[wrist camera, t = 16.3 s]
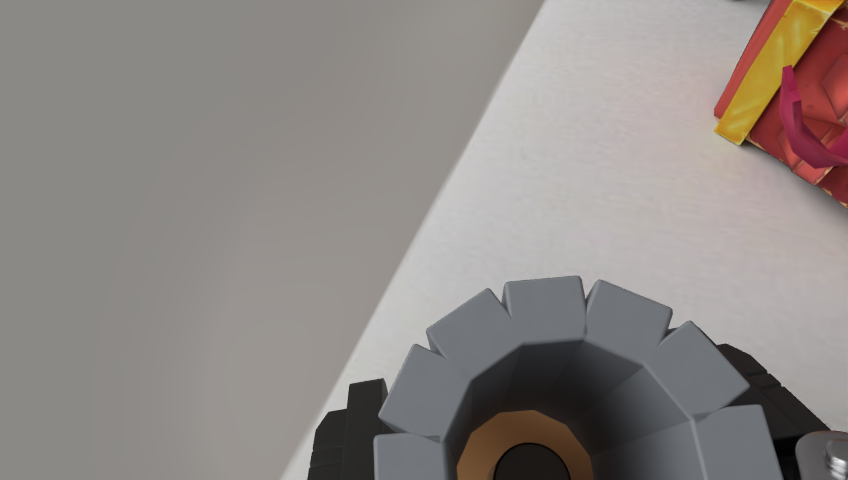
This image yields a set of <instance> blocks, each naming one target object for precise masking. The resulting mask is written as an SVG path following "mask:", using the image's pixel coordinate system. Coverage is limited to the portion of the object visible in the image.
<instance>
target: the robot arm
mask: <svg viewBox="0 0 848 480" xmlns="http://www.w3.org/2000/svg"><path fill="white" fill-rule="evenodd" d="M698 328H699V327H698ZM676 329H677V328H672V329H667V332H666V335H665V337H666V336H668V335H669V334H670V333H672V332H673V331H674V330H676ZM699 329H700V328H699ZM700 331H701V332H702V333H703V334H704V335H705V336H706V337H707V338H708V339H709V340H710V341H711V343H712V344H713V345H714V346H715V347H716V348H717V349H718V350H719V351H720V352H721V354H722V355H723V356H724V357H725V358H726V359H727V360H728V361H729V362H730V363H731V364H732V366H733V367H734V368H735V369H736V370H737V371H738V372H739V373H740V374H741V375H742V376H743V378H744V379H745V380H746V381H747V382H748V383H749V384H750V388H749V389H748V390H747V391H746V392H744V393H743V394H742V395H741V396H739V397H738V398H737V399H736V400H734V401H733V402H732V403H730V404H729V405H728V406H727V407H729V406H741V405H754V404H758V405H761V406H762V408H763V411H764V414H765V418H766V421H767V424H768V428H769V431H770V435H771V438H772V441H773V445H774V448H775V452H776V455H777V458H778V462H779V465H780V468H781V472H782V475H783V479H784V480H848V433H847V432H840V431H831V430H830V429H829V428H828V427H827V426H826V425H825V424H824V423H823V422H822V421H821V420H820V419H819V418H817V417H816V416H815V415H814V414H813V413H812V412H811V411H810V410H809V409H808V408H807V407H806V406H805V405H803V404H802V403H801V402H800V401H799V400H798V399H797V398H796V397H795V396H794V395H793V394H792V393H791V392H789V391H788V390H787V389H786V388H785V387H782V386H781V383H780V382H779V381H778V380H777V379H776V378H774V377H773V376H772V375H771V374H768V373H767V370H766V369H765V368H764V367H763V366H762V365H760V364H759V363H758V362H757V361H756V360H755V359H754V358H753V357H752V356H751V355H749V354H747V353H745V352H743V351H741V350H739V349H737V348H735V347H732V346H730V345H728V344H720V345H716V344H715V343H714V342H713V341H712V340H711V339H710V338H709V337H708V336H707V335H706V334H705V333H704V332H703V331H702V330H701V329H700ZM387 396H388V391H387V387H386V383H385V380H384V378H381V379H376V380H370V381H364V382H358V383H353V384H350V386H349V393H348V403H347V409H342V410H337V411H331V412H328V413H327V415H326V416H325V418H324V419H323V420H322V422H321V423H320V425H319V426H318V428H317V429H316V432H315V438H314V444H313V452H312V456H311V461H310V468H309V473H308V479H307V480H375V475H374V444H373V441H374V438H375V436H377V435H381V434H394V433H395V432H394V431H393V430H392V429H391V428H390V427H389V426H387V425H386V424H385V423H384V422H383V421H382V420H381V419H380V418H379V417H378V414H379V412H380V410H381V408H382V406H383V404H384V402H385V400H386V398H387Z"/></svg>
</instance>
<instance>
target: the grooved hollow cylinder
mask: <svg viewBox="0 0 848 480" xmlns="http://www.w3.org/2000/svg"><path fill="white" fill-rule="evenodd" d="M672 315H673V312H672V309H671V308H670V307H668V306H665V305H663V304H660V303H658V302H655V301H653V300H650V299H648V298H645V297H643V296H640V295H638V294H635V293H633V292H631V291H628V290H626V289H623V288H621V287H618V286H616V285H613V284H611V283H608V282H606V281H603V280H597V281H596V282H595V284H594V285H593V287H592V289H591V291H590V292H589V294H588V296H587V298H586V299H585V295H584V289H583V284H582V279H581V278H580V276H567V277H555V278H544V279H533V280H522V281H510V282H506V283H505V285H504V290H503V296H502V302H500V301H499V300H498V298H497V297H496V296H495V295H494V293H493V292H492V291H491V289H489V288H486V289H485V290H483V291H482V292H480V293H479V294H477V295H476V296H474V297H473V298H471V299H470V300H469V301H467V302H466V303H464V304H463V305H461V306H460V307H458V308H457V309H455V310H454V311H452V312H451V313H449V314H448V315H446V316H445V317H443V318H442V319H441V320H439V321H438V322H436V323H435V324H433V325H432V326H430V327H429V328H427V330H426V333H427V337H428V341H429V345H430V348H431V350H429V349H426V348H424V347H422V346H420V345H418V344H414V345H412V347H411V349H410V351H409V353H408V355H407V357H406V359H405V361H404V363H403V365H402V367H401V369H400V371H399V373H398V375H397V378H396V380H395V382H394V384H393V386H392V388H391V390H390V392H389V394H388V396H387V398H386V400H385V402H384V404H383V406H382V408H381V410H380V412H379V414H378V417H379V418H380V419H381V420H382V421H383V422H384V423H385V424H386V425H387V426H389V427H390V428H391V429H392V430H393V431H394V432H395V433H394V434H381V435H377V436H375V438H374V441H373V444H374V475H375V480H458V475H457V465H458V463H459V460H460V458H461V456H462V454H463V451H464V449H465V447H466V444H467V442H468V440H469V437H470V435H471V433H472V432H474V431H475V430H476V429H478V428H479V427H481V426H482V425H483V424H485V423H486V422H488V421H489V420H490V419H492V418H493V417H494V416H496V415H497V414H499V413H503V412H516V411H528V410H535V411H537V412H539V413H541V414H543V415H546V416H548V417H550V418H552V419H554V420H556V421H558V422H560V423H563V424H565V425H566V426H567V427H568V428H569V430H570V431H571V432H572V434H573V435H574V436H575V437H576V439H577V440H578V441H579V443H580V444H581V445H582V447H583V448H584V449H585V451H586V452H587V453H588V455H589V456H590V461H591V467H592V472H593V478H594V480H784V479H783V475H782V472H781V468H780V465H779V462H778V458H777V455H776V452H775V448H774V445H773V441H772V438H771V435H770V431H769V428H768V424H767V421H766V418H765V414H764V411H763V408H762V406H761V405H758V404H754V405H741V406H729V407H727V406H728V405H729V404H730V403H732V402H733V401H734V400H736V399H737V398H738V397H739V396H741V395H742V394H743V393H744V392H746V391H747V390H748V389H749V388H750V384H749V383H748V382H747V381H746V380H745V379H744V378H743V376H742V375H741V374H740V373H739V372H738V371H737V370H736V369H735V368H734V367H733V366H732V364H731V363H730V362H729V361H728V360H727V359H726V358H725V357H724V356H723V355H722V354H721V352H720V351H719V350H718V349H717V348H716V347H715V346H714V345H713V344H712V343H711V341H710V340H709V339H708V338H707V337H706V336H705V335H704V334H703V333H702V332H701V331H700V329H699V328H698V327H697V326H696V325H695V324H694V323H693V322H692V321H686V322H685V323H684V324H682V325H681V326H680V327H678V328H677V329H676V330H674V331H673V332H672V333H670V334H669V335H668V336H666V337H665V335H666V332H667V329H668V326H669V324H670V321H671V318H672Z"/></svg>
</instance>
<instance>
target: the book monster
mask: <svg viewBox="0 0 848 480" xmlns="http://www.w3.org/2000/svg"><path fill="white" fill-rule="evenodd" d="M714 116H715V117H716V118H717V120H718V121H719V124H718V125H717V127H716V129H715V130H714V132H716V133H718V134H719V135H721V136H723V137H725V138H726V139H728V140H730V141H732V142H733V143H735V144H737V145H738V146H740V145H741V143H742V142H743V141H744V140H745V139H746V140H748V141H749V142H751V143H753V144H754V145H756V146H758V147H759V148H761V149H763V150H764V151H766V152H768V153H769V154H771V155H772V156H774V157H776V158H777V159H779V160H781V161H782V162H784V163H785V164H787V165H788V166H790V168H791V171H792V172H793V173H795V174H797V175H798V176H800V177H801V178H803V179H805V180H806V181H808V182H809V183H811V184H813V185H815V184H816V185H817V186H819V187H820V188H821V189H823V190H824V191H825V192H827V193H828V194H829V195H831V196H832V197H833V198H834V199H836V200H837V201H838V202H840V203H841V204H842V205H844V206H845V207H846V208H848V0H772V1H771V2H770V4H769V6H768V7H767V9H766V11H765V12H764V14H763V16H762V18H761V20H760V21H759V23H758V25H757V27H756V29H755V31H754V33H753V35H752V37H751V39H750V41H749V43H748V44H747V46H746V48H745V50H744V52H743V54H742V56H741V58H740V60H739V62H738V64H737V66H736V68H735V70H734V72H733V74H732V76H731V79H730V81H729V83H728V85H727V87H726V89H725V90H724V92H723V94H722V96H721V98H720V100H719V101H718V103H717V105H716V107H715V109H714Z"/></svg>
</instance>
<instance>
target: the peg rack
mask: <svg viewBox="0 0 848 480" xmlns="http://www.w3.org/2000/svg"><path fill="white" fill-rule="evenodd" d="M457 475H458V480H594V478H593V472H592V467H591V461H590V456H589V455H588V453H587V452H586V451H585V449H584V448H583V447H582V445H581V444H580V443H579V441H578V440H577V439H576V437H575V436H574V435H573V434H572V432H571V431H570V430H569V428H568V427H567V426H566V425H565V424H563V423H560V422H558V421H556V420H554V419H552V418H550V417H548V416H546V415H543V414H541V413H539V412H537V411H535V410H528V411H516V412H503V413H499V414H497V415H496V416H494V417H493V418H492V419H490V420H489V421H488V422H486V423H485V424H483V425H482V426H481V427H479V428H478V429H476V430H475V431H474V432H472V433H471V435H470V437H469V440H468V442H467V444H466V447H465V449H464V451H463V454H462V456H461V458H460V460H459V463H458V465H457Z"/></svg>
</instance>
